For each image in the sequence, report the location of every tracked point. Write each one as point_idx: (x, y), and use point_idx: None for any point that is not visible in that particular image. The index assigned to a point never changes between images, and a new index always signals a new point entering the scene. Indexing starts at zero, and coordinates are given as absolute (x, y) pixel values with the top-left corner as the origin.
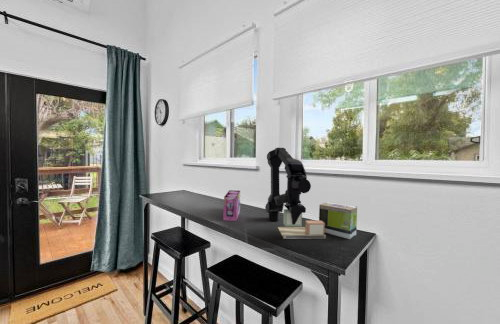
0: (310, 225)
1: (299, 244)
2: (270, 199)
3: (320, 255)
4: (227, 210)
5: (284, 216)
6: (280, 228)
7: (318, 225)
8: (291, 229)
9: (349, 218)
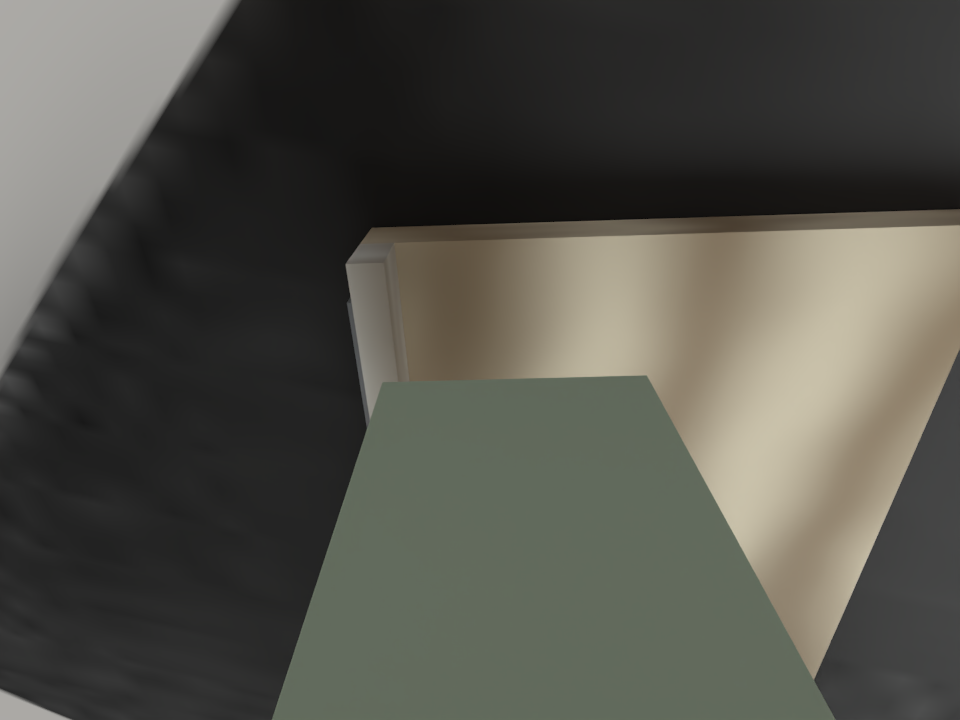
0: None
1: (316, 430)
2: None
3: (67, 557)
4: None
5: (516, 596)
6: (899, 271)
7: None
8: (786, 449)
9: None
